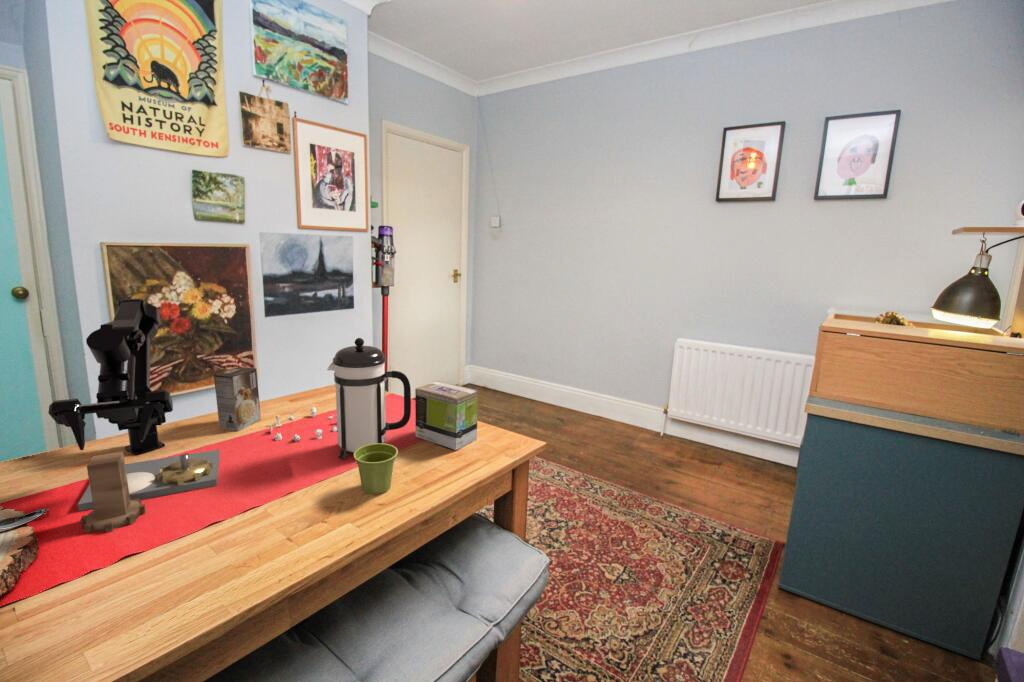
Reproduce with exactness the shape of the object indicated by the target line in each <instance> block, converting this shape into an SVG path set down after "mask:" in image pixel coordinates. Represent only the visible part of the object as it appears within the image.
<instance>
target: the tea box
mask: <svg viewBox="0 0 1024 682" xmlns="http://www.w3.org/2000/svg"><path fill="white" fill-rule="evenodd" d="M414 391H415V392H414V393H415V394H414V395H415V399H414V400H415V402H414V403H415V406H414V407H415V413H414V415H415V422H414V423H415V437H416V438H418V439H422V440H425V441H428V442H430V443H433V444H437V445H440V446H443V447H446V448H449V449H451V450H454V451H457V450H459V449H461V448H463V447H465V446H467V445H469V444H471V443H473V442H474V441H476V440H477V437H478V415H479V414H478V411H479V409H478V407H479V405H478V404H479V401H478V400H479V390H478V389H473V388H469V387H466V386H461V385H457V384H454V383H453V384H452V383H449V382H448V383H447V382H445V381H440V380H436V381H434V382H431V383H428V384H425V385H421V386H419V387H416V388H415V390H414Z"/></svg>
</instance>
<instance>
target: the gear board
mask: <svg viewBox="0 0 1024 682" xmlns="http://www.w3.org/2000/svg"><path fill="white" fill-rule="evenodd" d="M187 454H188V455H189V458H193V459H201V458H207V462H209V461H212V463H213V469H211V474H210V475H205V476H203V477H201V480H199V481H191V482H187V483H184V485H179V486H178V484H169V485H168V486H166V485H163V481H161V482H158V478H157V474H158V473H160V469H161V468H162V467H167V466H169V465H171V464H172V462H175V461H177V462H180V455H176V456H175V455H174V456H168V457H162V458H155V459H149V460H143V461H137V462H130V463H129V462H128V463H125V468H126V475H127V482H128V489H129V495H130V500H135V499H137V498H138V499H141V500H147V499H151V498H156V497H162V496H168V495H172V494H178V493H184V492H188V491H194V490H198V489H204V488H209V487H210V488H211V487H215V486H218V478H219V469H220V468H219V467H220V466H219V465H220V458H219V457H220V456H221V455H220V449H212V450H207V451H206V450H205V451H201V452H200V451H199V452H193V453H187ZM77 508H78V512H83V511H88V510H93V508H94V507H93V501H92V495H91V489H90V483H89V485H87V487H86V490H85V492H84V493H83V495H82V497H81V499H80V500H79V502H78V503H77Z"/></svg>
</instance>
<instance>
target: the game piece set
mask: <svg viewBox="0 0 1024 682" xmlns="http://www.w3.org/2000/svg"><path fill="white" fill-rule="evenodd" d="M309 411H310V416H311V417H312V418H315V417H316V414H317V408H316V407H314V406H312V407H310V410H309ZM334 417H335V419H336V420H337V415H335V414H333V415H332V416H331V415H330V416H328V417H327V419H329V420H330V419H331V420H332V419H334ZM279 418H280V415H279V414H278V413H277V414H276V415H275V419H276V421H275V422H273V423H272V424H270V425H269V427H270V428H269V430H270V434H272V433H273V429H274V428H273V427H281V426H282V425H283V422H282V421H280V420H279ZM289 419H290V420H291V421H295V420H296V418H295V417H294V414H293V411H290V416H289ZM272 426H273V427H272ZM314 432H315V434H316V437H315V438H316V439H317V440H319V439H323V437H322V434H323V430H322V429H320V428H318V429H316V430H315V431H314ZM331 432H334V433H335V432H337V426H336V425H333V427H332V431H331ZM300 439H301V437H300V435H298V434H297V433H295V434H294V436H293V438H292V440H294V441H295V442H298V441H299V440H300ZM274 440H275V441H281V440H283V437H282V433H281V432H279V433H278V432H276V435H275V436H274Z"/></svg>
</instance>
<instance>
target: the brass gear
mask: <svg viewBox="0 0 1024 682" xmlns="http://www.w3.org/2000/svg"><path fill="white" fill-rule="evenodd" d="M188 454H189V453H184V454H183V453H182V454H180V455H179V456H180V462H177V461H175V462H172V464H171V465H169V466H167V467H162V468H161V469H160V473H158V474H157V478H158V482H161V481H163V485H166V486H168V485H169V484H178V486H179V485H184V483H187V482H191V481H199V480H201V477H203V476H205V475H210V474H211V469H213V463H212V461H209V462H207V458H201V459H193V458H189V455H188Z"/></svg>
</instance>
